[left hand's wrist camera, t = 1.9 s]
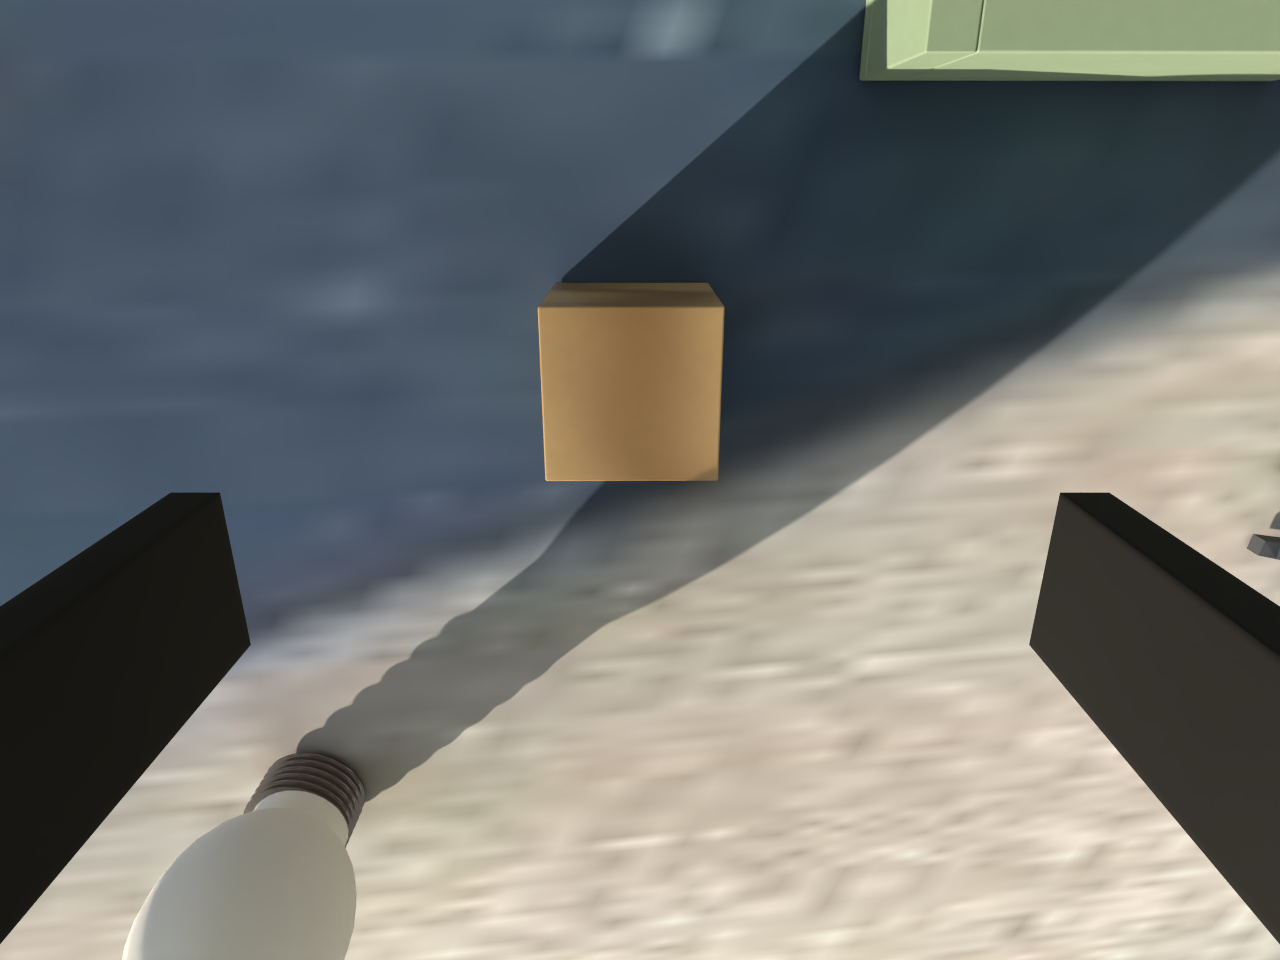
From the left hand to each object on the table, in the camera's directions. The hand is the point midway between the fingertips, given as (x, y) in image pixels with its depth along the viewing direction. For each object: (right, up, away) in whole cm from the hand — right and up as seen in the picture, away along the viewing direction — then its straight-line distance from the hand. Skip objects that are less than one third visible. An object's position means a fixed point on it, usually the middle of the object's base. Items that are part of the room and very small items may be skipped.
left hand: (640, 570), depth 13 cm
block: (0, +6, +14) cm, 15 cm away
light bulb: (-13, -11, +20) cm, 27 cm away
